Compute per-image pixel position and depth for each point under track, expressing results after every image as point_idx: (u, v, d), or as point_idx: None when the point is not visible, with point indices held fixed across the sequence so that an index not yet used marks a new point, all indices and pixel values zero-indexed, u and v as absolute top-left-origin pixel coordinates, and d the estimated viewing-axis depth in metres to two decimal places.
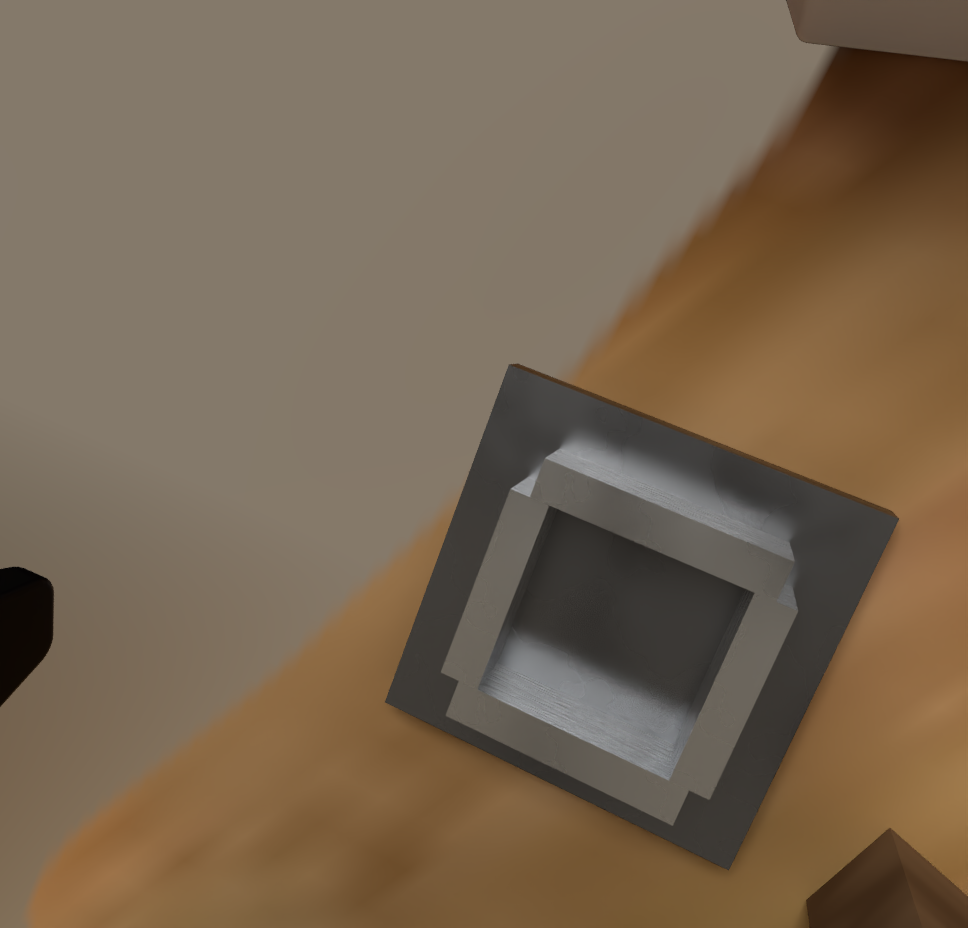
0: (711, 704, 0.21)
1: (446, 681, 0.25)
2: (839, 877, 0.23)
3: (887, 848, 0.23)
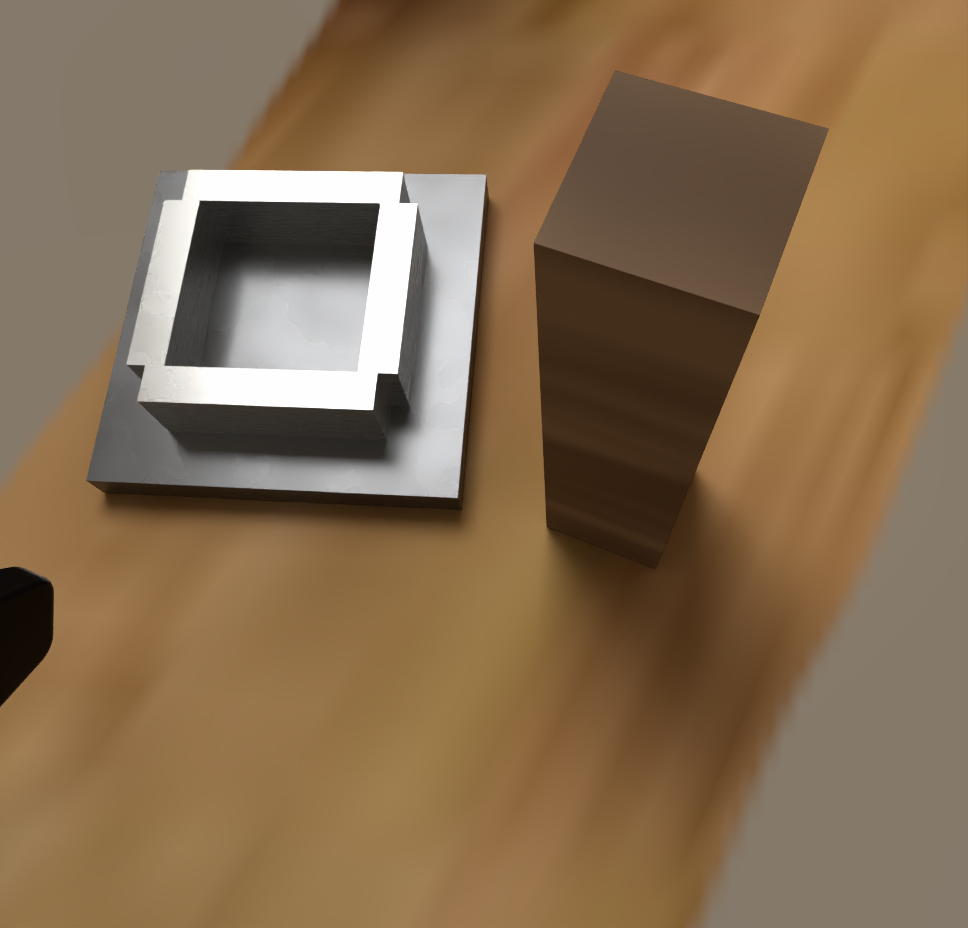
0: (373, 295, 0.23)
1: (146, 435, 0.25)
2: None
3: None
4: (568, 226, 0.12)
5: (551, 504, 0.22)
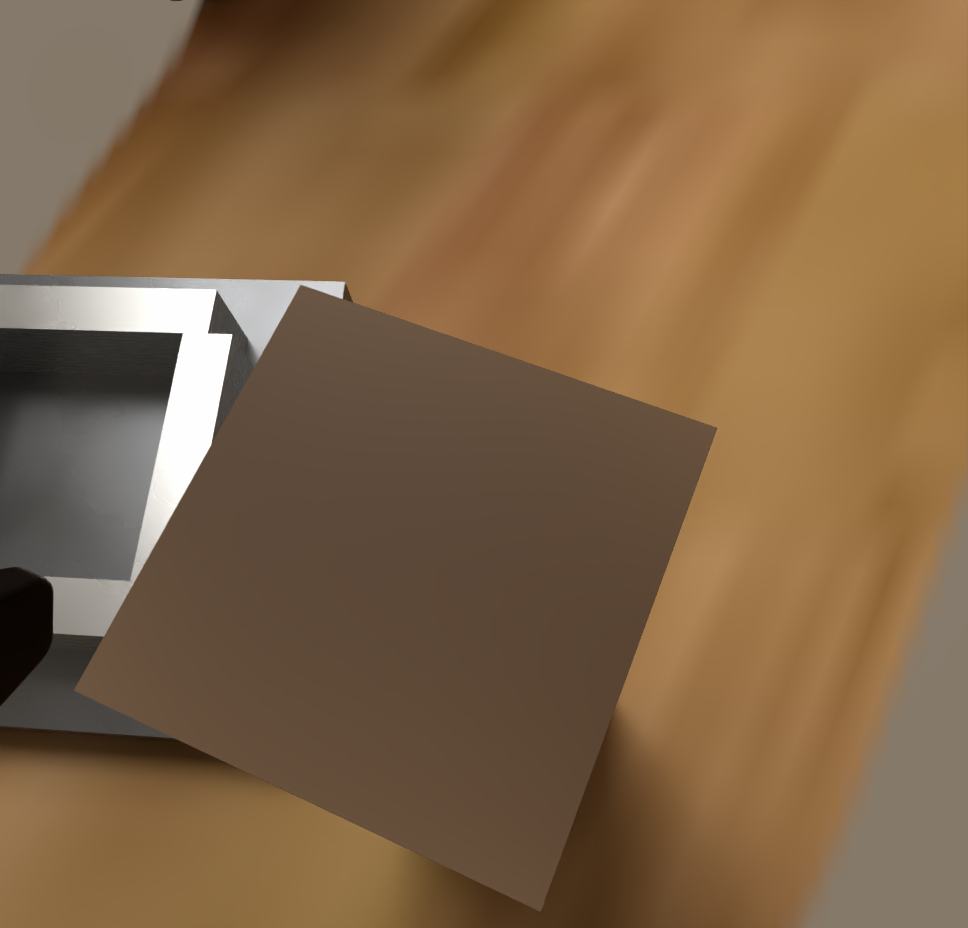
0: (162, 467, 0.17)
1: None
2: None
3: None
4: (152, 651, 0.06)
5: None
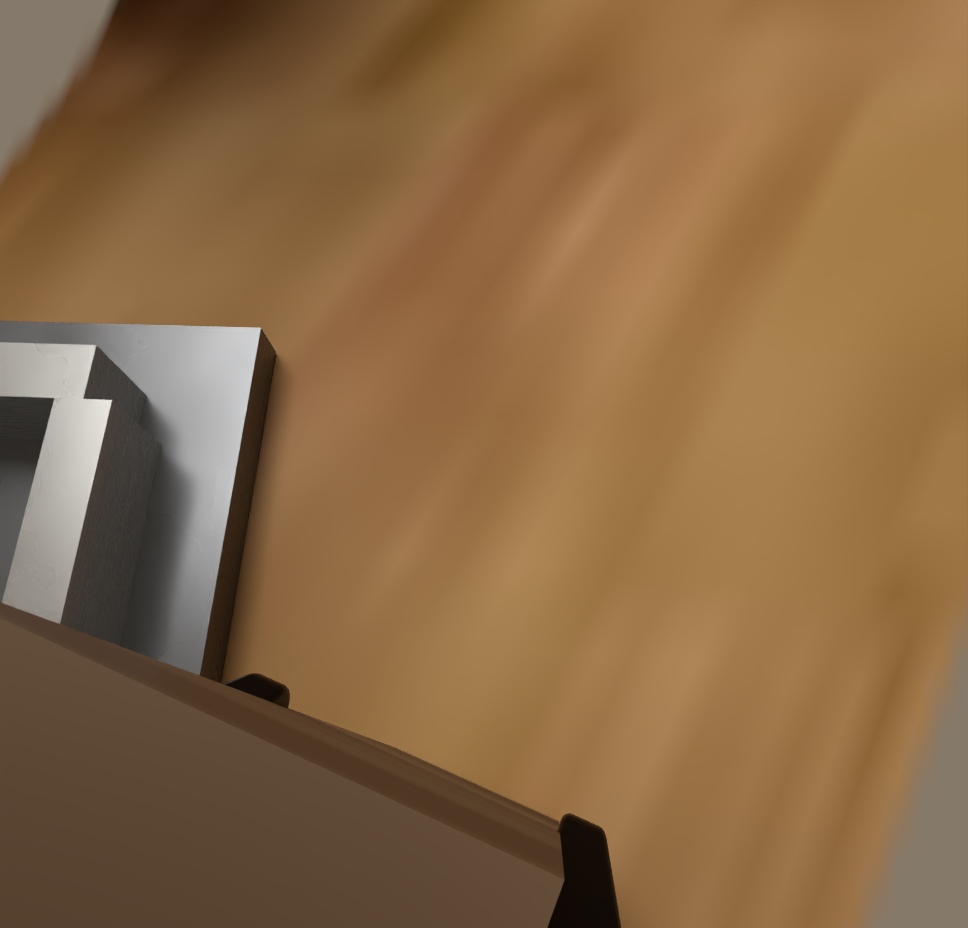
0: (20, 564, 0.14)
1: None
2: None
3: None
4: None
5: None
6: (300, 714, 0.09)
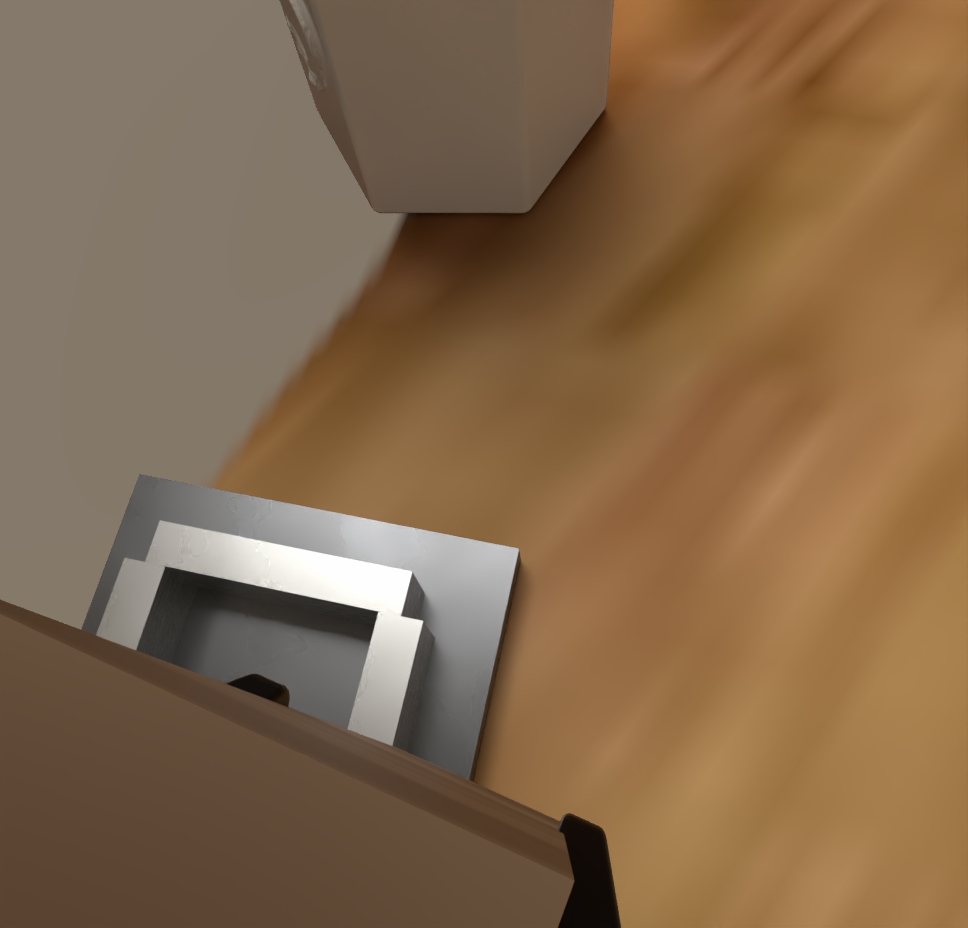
0: None
1: None
2: None
3: None
4: None
5: None
6: (304, 714, 0.09)
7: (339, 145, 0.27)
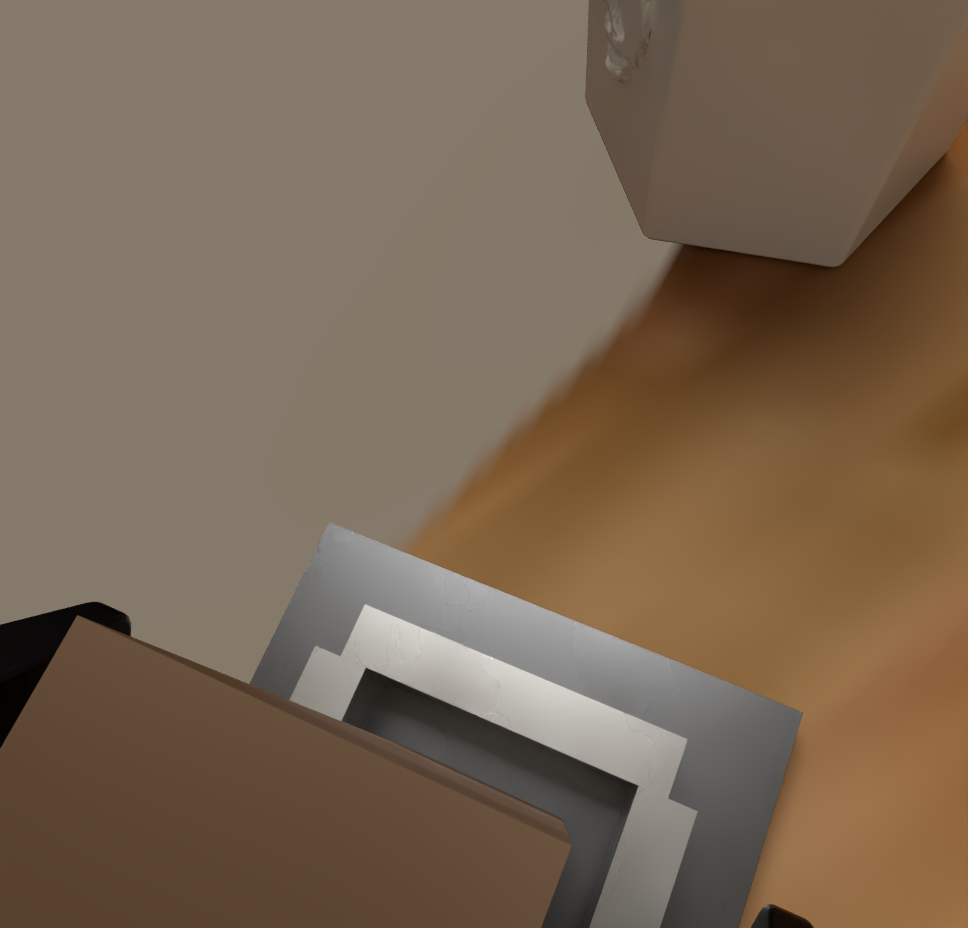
0: None
1: None
2: None
3: None
4: None
5: None
6: (345, 723, 0.11)
7: (613, 148, 0.22)
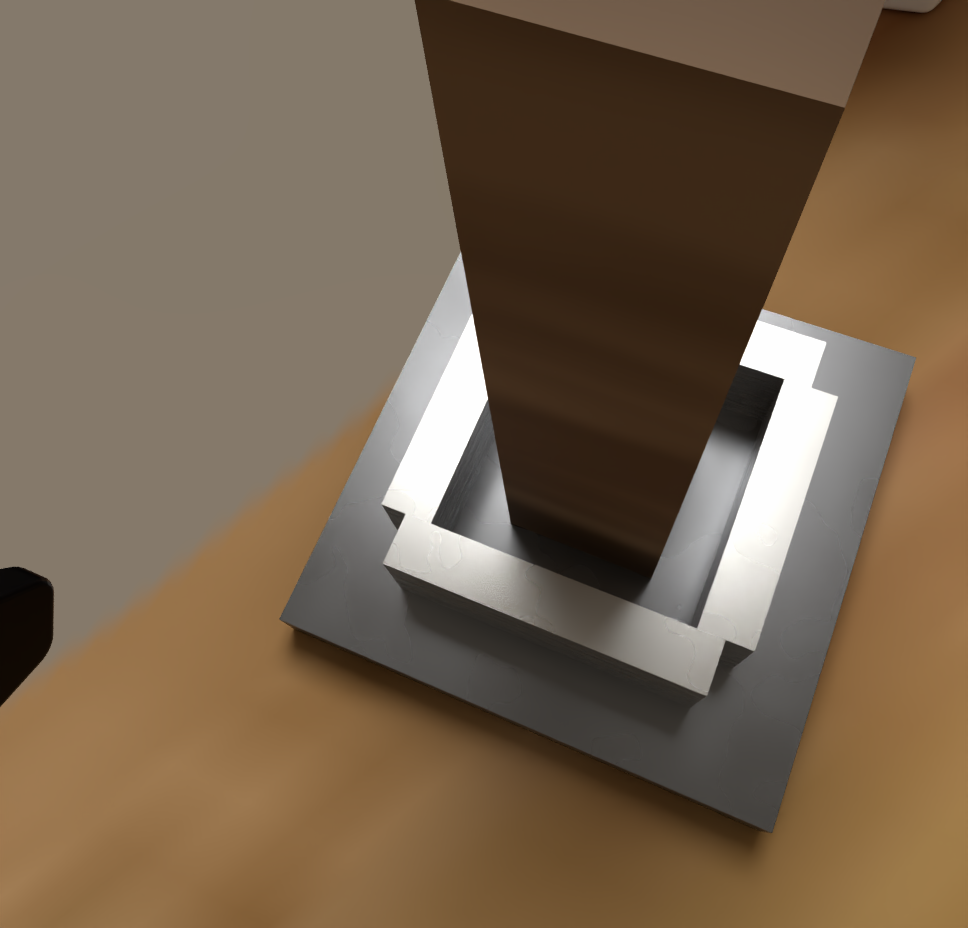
0: (745, 518, 0.16)
1: (370, 583, 0.18)
2: None
3: None
4: None
5: (513, 493, 0.16)
6: None
7: None
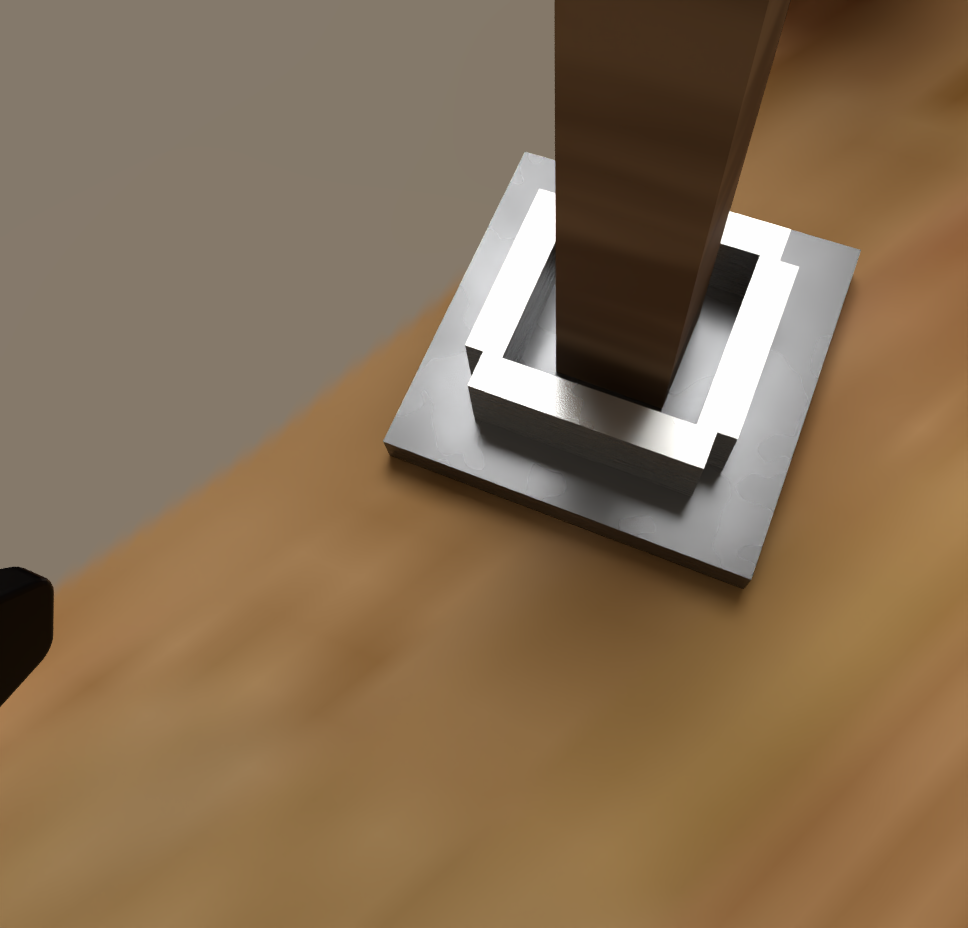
0: (731, 350, 0.22)
1: (451, 415, 0.24)
2: None
3: None
4: None
5: (562, 335, 0.23)
6: None
7: None
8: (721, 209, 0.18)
